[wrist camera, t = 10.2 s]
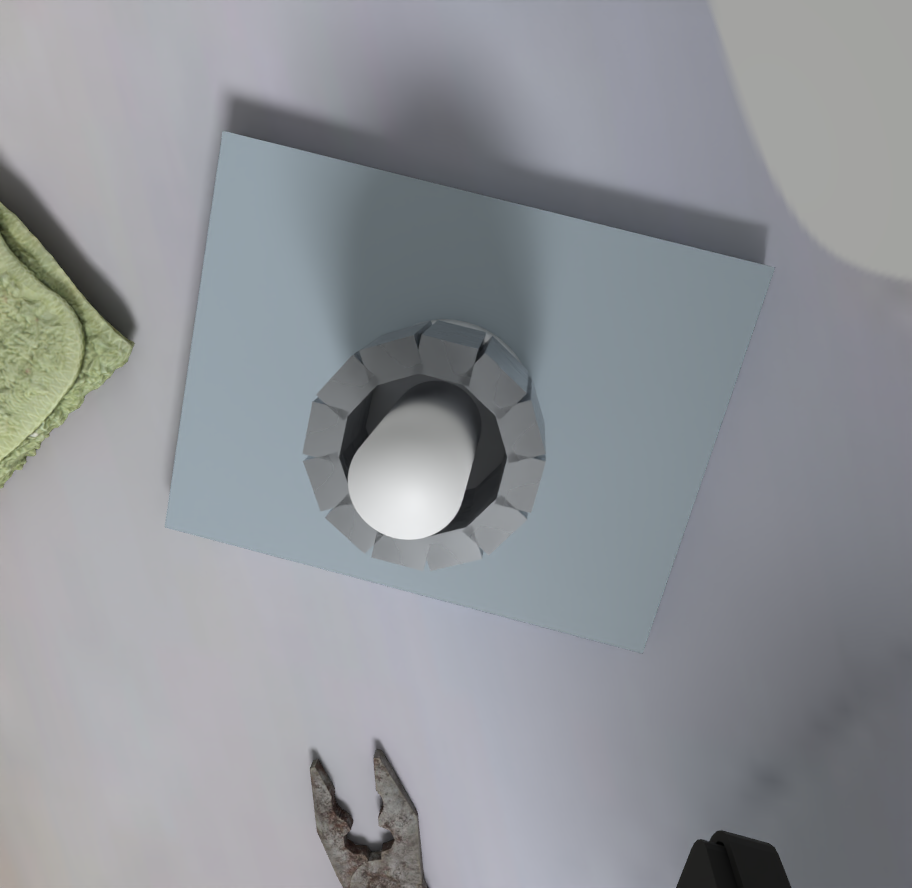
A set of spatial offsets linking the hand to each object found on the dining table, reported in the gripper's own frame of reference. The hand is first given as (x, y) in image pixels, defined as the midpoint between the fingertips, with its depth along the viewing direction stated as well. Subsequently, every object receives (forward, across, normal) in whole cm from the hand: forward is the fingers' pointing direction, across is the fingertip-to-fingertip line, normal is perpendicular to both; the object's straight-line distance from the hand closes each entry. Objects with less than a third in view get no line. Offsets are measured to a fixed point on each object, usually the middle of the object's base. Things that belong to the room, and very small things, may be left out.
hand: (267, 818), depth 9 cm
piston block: (+20, 0, 0) cm, 20 cm away
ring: (+17, 0, 0) cm, 17 cm away
